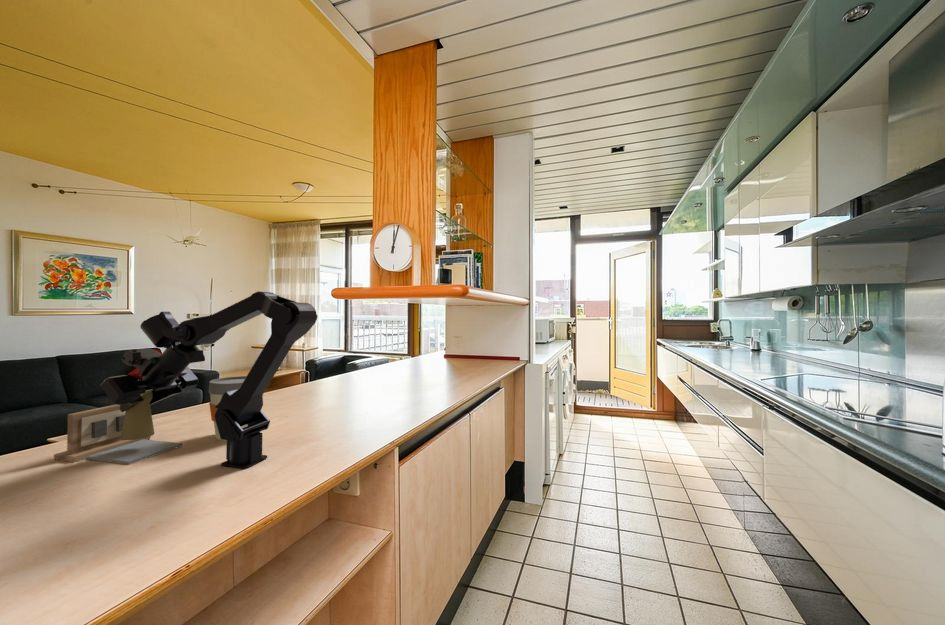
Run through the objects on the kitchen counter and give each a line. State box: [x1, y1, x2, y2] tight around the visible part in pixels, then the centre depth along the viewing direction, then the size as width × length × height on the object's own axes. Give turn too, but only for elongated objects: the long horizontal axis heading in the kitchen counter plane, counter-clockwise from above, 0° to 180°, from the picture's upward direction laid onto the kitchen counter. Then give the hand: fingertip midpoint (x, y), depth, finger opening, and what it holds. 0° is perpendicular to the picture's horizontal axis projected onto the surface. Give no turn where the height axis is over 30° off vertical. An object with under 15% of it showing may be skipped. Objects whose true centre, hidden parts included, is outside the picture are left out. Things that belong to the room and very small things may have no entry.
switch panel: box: [53, 404, 152, 463], centre depth 91 cm, size 6×16×10 cm, turn 168°
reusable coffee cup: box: [207, 375, 248, 442], centre depth 102 cm, size 13×12×15 cm
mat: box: [87, 439, 183, 465], centre depth 89 cm, size 12×12×1 cm
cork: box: [121, 390, 155, 440], centre depth 89 cm, size 6×6×11 cm
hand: (133, 407), depth 90 cm, fingers closed on cork, 5 cm apart
